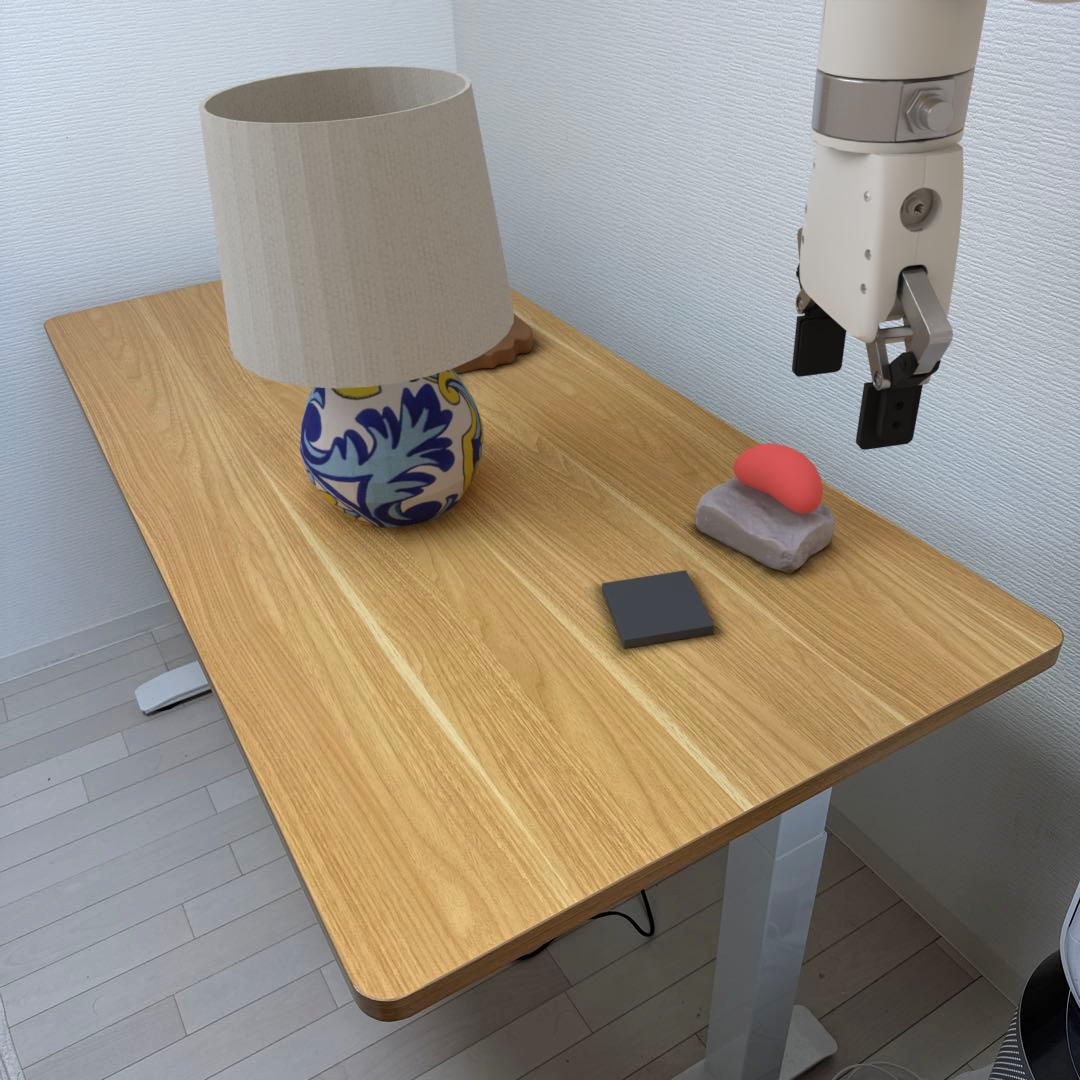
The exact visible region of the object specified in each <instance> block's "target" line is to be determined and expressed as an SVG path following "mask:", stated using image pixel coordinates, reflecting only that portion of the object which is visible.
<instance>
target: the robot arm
mask: <svg viewBox="0 0 1080 1080" xmlns="http://www.w3.org/2000/svg"><path fill="white" fill-rule="evenodd" d="M1024 1H1025V2H1032V3H1040V4H1050V5H1051V4H1052V5H1053V4H1054V5H1057V4H1058V5H1061V4H1062V5H1063V4H1064V5H1065V4H1075V3H1080V0H1024ZM987 4H988V0H822V9H821V20H820V29H819V40H818V49H817V61H816V67H817V68H816V71H815V82H814V92H813V103H812V112H811V113H812V114H811V126H810V133H809V134H810V135H809V137H810V138H809V139H810V140H811V141H812V142H813V143H815V148H814V153H813V159H812V164H811V169H810V175H809V179H808V186H807V193H806V200H805V208H804V213H803V221H802V226H801V227H800V228H799V229H798V230H797V234H796V235H797V236H796V237H797V238H796V239H797V249H798V250H797V251H798V261H799V262H798V264H797V267H796V271H795V277H796V278H797V280H798V285H799V289H800V291H799V292H798V294H797V295H796V298H795V310H796V313H797V314H799V315H797V316H796V321H795V322H796V323H795V332H794V334H795V335H794V344H793V353H792V362H791V371H792V373H793V374H794V376H796V377H798V378H800V377H801V378H802V377H810V376H817V375H825V374H832V373H837V372H839V371H841V369H842V366H843V362H844V361H843V359H844V352H845V345H846V339H847V333H849V334H850V335H851V336H853V337H854V338H855V339H857V340H858V341H860V342H862V343H865V348H866V353H867V359H868V365H869V370H870V377H871V381H869V382H864V383H863V388H862V395H861V402H860V409H859V416H858V424H857V430H856V435H855V436H856V437H855V443H856V445H857V446H858V447H859V448H860V450H861V451H866V450H867V451H868V450H874V449H882V448H888V447H889V448H890V447H897V446H903V445H908V444H910V443H911V442H912V441H913V439H914V435H915V429H916V424H917V418H918V414H919V408H920V403H921V397H922V392H923V386H924V385H928V384H929V382H930V381H931V376H932V375H933V374H935V373H936V372H938V370H939V368H940V365H941V361H942V360H941V359H942V358H943V356H944V355H945V353H946V351H947V350H948V348H949V346H950V345H951V344H952V341H953V337H954V332H953V328H952V326H951V324H950V322H949V319H948V316H949V312H950V307H951V301H952V294H953V289H954V283H955V282H954V281H955V275H956V267H957V262H958V261H957V260H958V251H959V244H960V243H959V242H960V235H961V225H962V213H963V201H964V199H963V198H964V169H965V168H964V147H963V146H962V145H961V144H959V143H960V142H961V141H962V140H963V136H964V131H965V126H966V120H967V115H968V109H969V104H970V99H971V98H970V97H971V93H972V87H973V81H974V76H975V72H976V71H975V70H976V65H977V61H978V60H977V59H978V54H979V49H980V44H981V38H982V31H983V28H984V21H985V15H986V10H987ZM900 320H902V322H903V325H900V326H891V327H884V328H883V327H882V328H880V324H882V323H885V322H892V321H900ZM902 342H904V347H905V351H904V352H902V353H900V354H899V355H898V356H897V357H896V358H894V359H893V360H892V361H891V362H889V356H888V350H887V344H894V343H902Z"/></svg>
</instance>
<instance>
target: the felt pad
mask: <svg viewBox="0 0 1080 1080" xmlns="http://www.w3.org/2000/svg"><path fill="white" fill-rule="evenodd" d="M601 592H602V595H603V597H604V601H605V603H606V605H607V608H608V610H609V614H610V615H611V618H612V621H613V624H614V626H615V629H616V632H617V634H618V637H619V639H620V642H621V644H622V646H623V647H622V648H623V649H629V648H636V647H637V648H638V647H642V646H643V647H644V646H648V645H654V644H661V643H667V642H673V641H679V640H684V639H690V638H696V637H702V636H709V635H713V634H715V624H714V622H713V620H712V618H711V616H710V614H709V612H708V610H707V608H706V606H705V604H704V603H703V601H702V599H701V597H700V594H699V593H698V591H697V588H696V587H695V585H694V583H693V581H692V579H691V577H690V575H689V574H688V571H687V570H677V571H672V572H666V573H660V574H659V573H658V574H652V575H645V576H641V577H634V578H633V577H632V578H628V579H627V578H626V579H621V580H615V581H614V580H613V581H609V582H602V583H601Z"/></svg>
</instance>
